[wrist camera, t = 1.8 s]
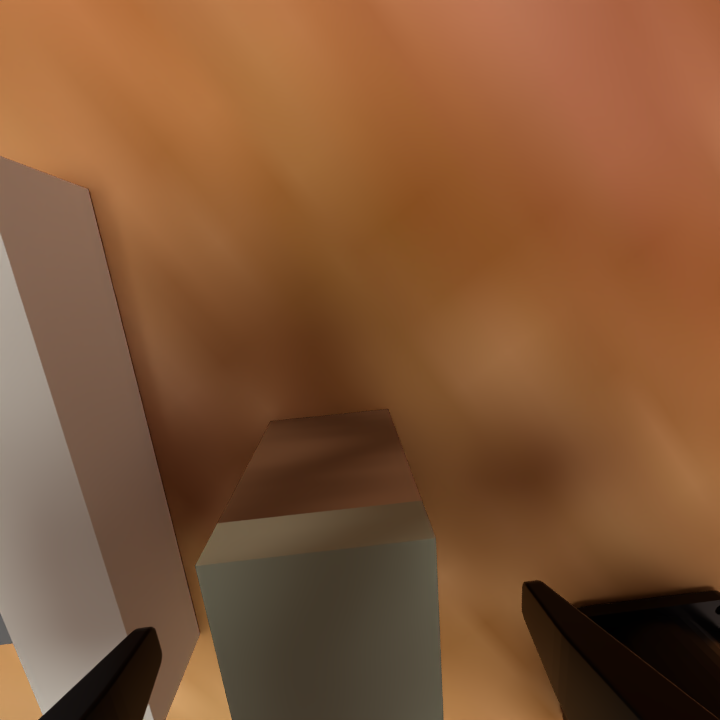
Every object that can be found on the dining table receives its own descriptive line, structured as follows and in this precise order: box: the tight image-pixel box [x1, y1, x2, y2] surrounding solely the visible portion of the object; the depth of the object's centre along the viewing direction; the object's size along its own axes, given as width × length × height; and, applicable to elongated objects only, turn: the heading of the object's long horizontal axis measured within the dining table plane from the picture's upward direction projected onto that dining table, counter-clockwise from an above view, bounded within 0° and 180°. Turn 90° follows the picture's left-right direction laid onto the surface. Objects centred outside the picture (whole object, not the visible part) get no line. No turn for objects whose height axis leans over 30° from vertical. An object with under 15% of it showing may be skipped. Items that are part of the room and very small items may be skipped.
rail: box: [0, 156, 200, 720], centre depth 10 cm, size 3×16×3 cm, turn 5°
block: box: [195, 409, 443, 720], centre depth 9 cm, size 4×7×6 cm, turn 5°
